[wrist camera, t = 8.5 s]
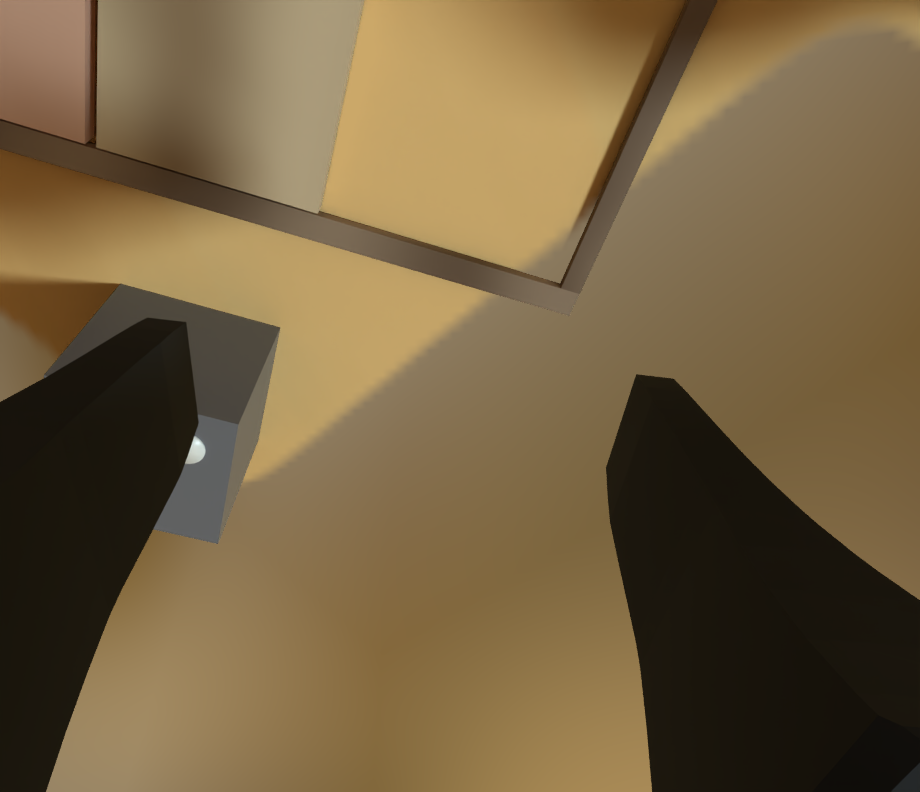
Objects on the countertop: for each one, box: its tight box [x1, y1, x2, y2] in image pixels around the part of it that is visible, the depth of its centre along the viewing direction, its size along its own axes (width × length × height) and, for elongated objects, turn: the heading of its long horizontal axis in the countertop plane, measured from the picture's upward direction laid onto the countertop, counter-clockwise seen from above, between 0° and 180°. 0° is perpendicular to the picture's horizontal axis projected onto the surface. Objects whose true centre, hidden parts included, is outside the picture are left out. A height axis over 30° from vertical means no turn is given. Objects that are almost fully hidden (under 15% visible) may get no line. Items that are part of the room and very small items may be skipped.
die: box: [44, 284, 280, 544], centre depth 23 cm, size 5×5×5 cm
